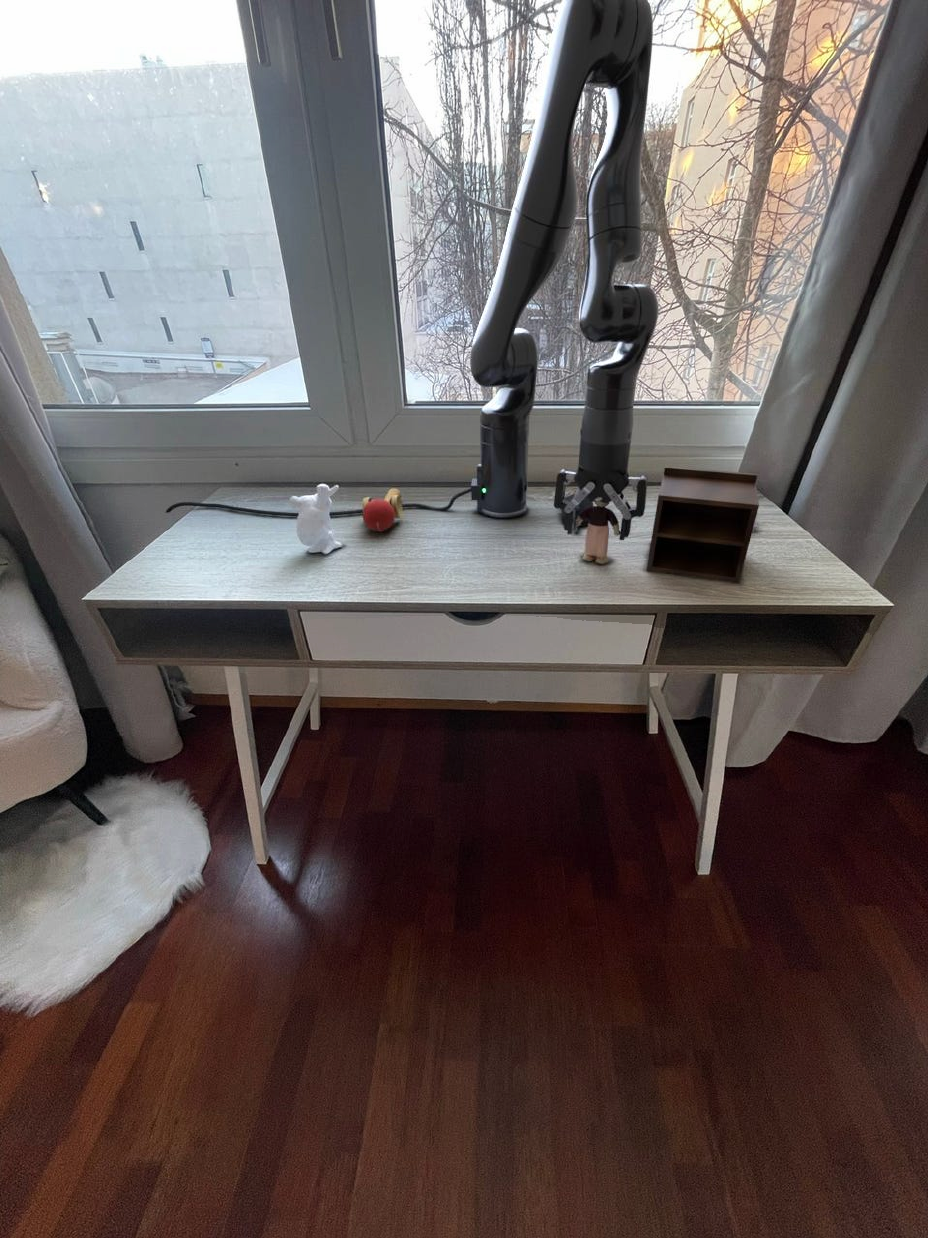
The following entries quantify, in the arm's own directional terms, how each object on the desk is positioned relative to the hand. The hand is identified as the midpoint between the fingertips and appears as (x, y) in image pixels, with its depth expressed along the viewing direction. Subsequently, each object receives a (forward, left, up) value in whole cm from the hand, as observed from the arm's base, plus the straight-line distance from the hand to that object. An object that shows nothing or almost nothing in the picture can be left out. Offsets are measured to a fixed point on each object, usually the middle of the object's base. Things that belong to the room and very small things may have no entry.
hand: (595, 535), depth 98 cm
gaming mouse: (-6, +17, -5) cm, 19 cm away
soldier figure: (+23, +23, -5) cm, 33 cm away
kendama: (-42, +6, -5) cm, 43 cm away
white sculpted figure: (-46, -11, -5) cm, 48 cm away
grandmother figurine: (0, 0, -4) cm, 4 cm away
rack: (+16, +4, -4) cm, 17 cm away
